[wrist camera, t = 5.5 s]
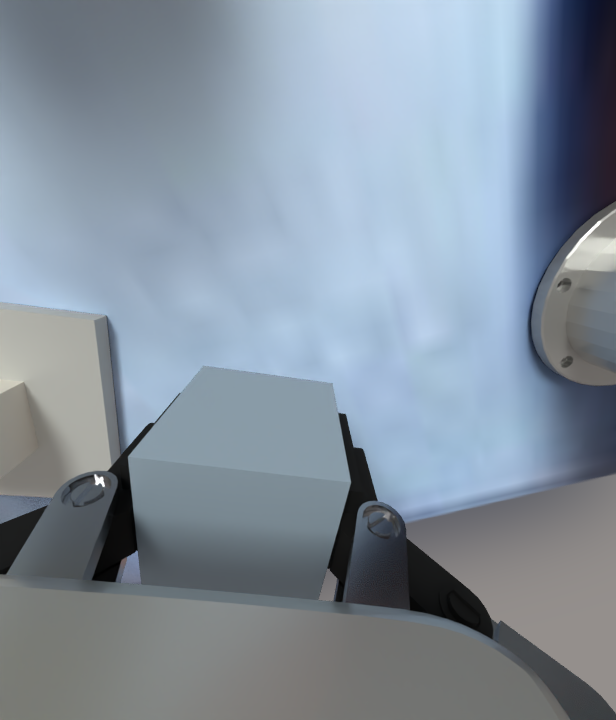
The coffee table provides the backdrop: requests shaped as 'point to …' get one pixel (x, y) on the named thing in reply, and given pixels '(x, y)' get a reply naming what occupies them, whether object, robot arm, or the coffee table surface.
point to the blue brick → (241, 486)
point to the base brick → (15, 426)
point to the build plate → (60, 394)
